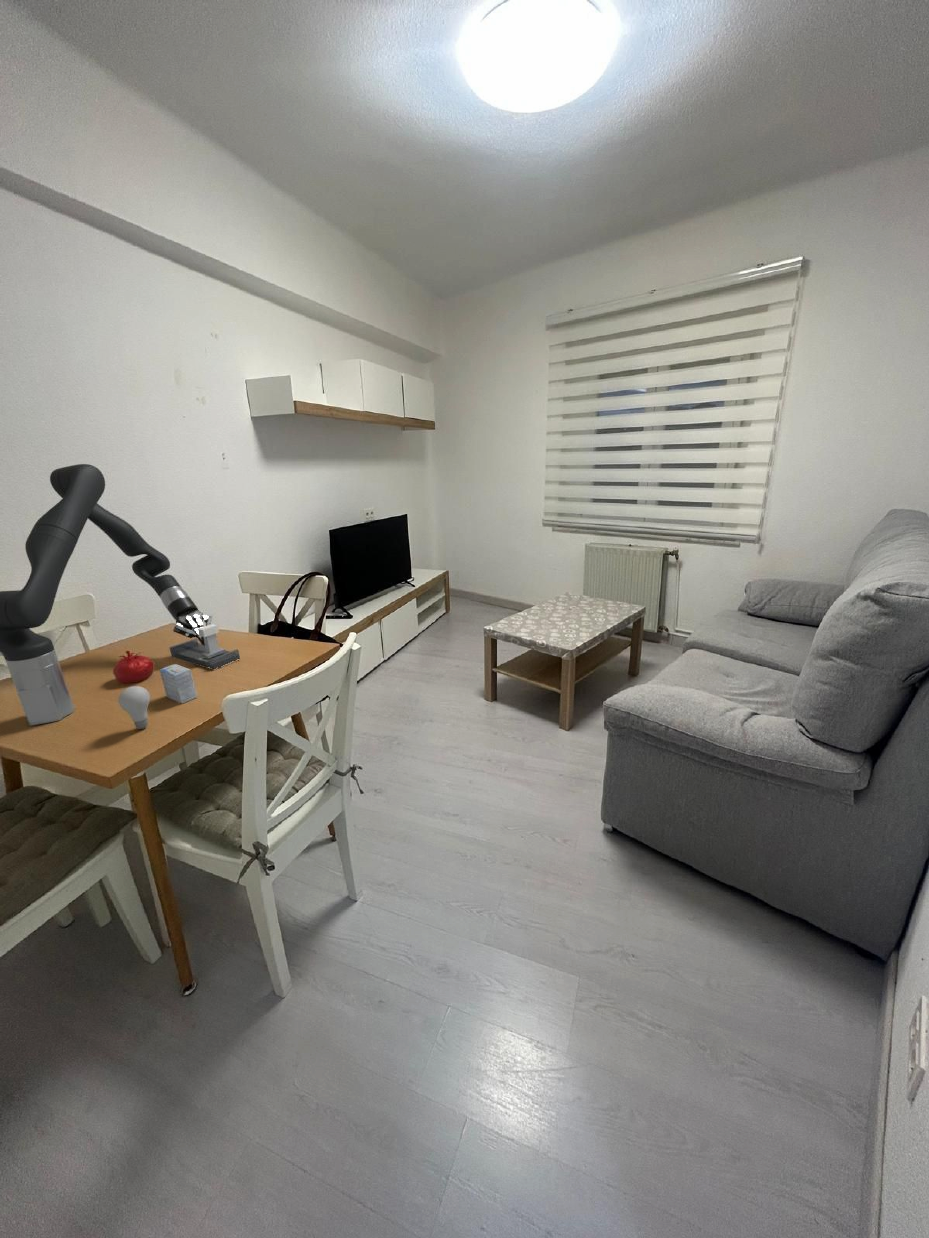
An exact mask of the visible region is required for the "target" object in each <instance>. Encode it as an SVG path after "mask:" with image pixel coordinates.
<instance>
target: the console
mask: <svg viewBox="0 0 929 1238" xmlns="http://www.w3.org/2000/svg"><path fill="white" fill-rule="evenodd" d="M168 649H169V651H170V655H171V658H174V657H175V658H174V659H178V660H180V661H185V662H188V663H190V662H191V664H193V663H194V664H193V665H196V664H198V665H197V666H200V665H201V666H200V667H203V666H204V667H203V668H206V667H210V668H212V669H216V668H217V667H221V666H223V665H225V664H228V663H230V662H232V661H236V660H237V659H240V660H241V657H240V651H239V649H238V648H237V649H234V650H231V651H229V650H226V652H225V653H222V654H219V655H217V656H214V657H211V658H209V659H208V658H205V657H202V656H201V654H200V653H203V652H206V647H205V646H204V645H202V644H201V643H200V642H199V640H198V638H194V639H191V640H187V641H184V642H180V643H177V644H174V645H172V646H169V647H168ZM236 662H237V661H236ZM223 667H224V666H223ZM221 668H222V667H221ZM212 669H211V670H212ZM216 670H217V669H216Z"/></svg>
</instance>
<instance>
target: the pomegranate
mask: <svg viewBox="0 0 929 1238" xmlns="http://www.w3.org/2000/svg"><path fill="white" fill-rule="evenodd" d="M144 653H145V652H142V654H144ZM125 654H126V655H120V656H118V658H121V659H119V660H118V661H117V662H116V664H115V666H114V667H113V669H112V672H113V673H112V674H113V675H114V678H115V679H116V681H117V682H119V683H120V684H132V683H138V682H142V681H144V680H146V679H148V678H150V677H151V676H152V674H153V672H154V667H155V665H154V661H153V660H151V659H150V658H148V657H147V656H145V655H140V652H138V653H136V654H135V652H131V651H130V650H126V651H125ZM133 654H135V655H133Z"/></svg>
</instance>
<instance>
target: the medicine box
mask: <svg viewBox="0 0 929 1238" xmlns="http://www.w3.org/2000/svg"><path fill="white" fill-rule="evenodd" d="M159 673H160V677H161V681H162V684H163V688H164V692H165V695H166V698H168V699H170V700H173V701H176V702H177V703H180V704H186V703H188V702H191V701H193V700H194V699H197V698H198V694H197V689H196V686H195V683H194V678H193V675H192V670H191V669H190V668H188V667H185V666H181V665H179V664H177V663H175V664H170V665H168V666H165V667H163V668H161V669H159Z"/></svg>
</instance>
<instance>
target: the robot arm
mask: <svg viewBox="0 0 929 1238" xmlns="http://www.w3.org/2000/svg"><path fill="white" fill-rule="evenodd" d="M49 482H50V485H51V486H52V488H53V490H54V491H55V493H57V495H58V496H60V497H61V499H60V500H59V501H58V502H57V503H56V504H55V505H53V506H52V507H51V508H50V509H49V510H48V511H46V512H45V513H44V514H43V515H42V516H41V517H39V519H37V521H36V522H35V524H33V526H32V529H31V531H30V533H29V535H28V537H27V538H26V542H25V552H26V555H27V559H28V561H29V564H30V567H31V571H30V575H29V577H28V579H27V581H26V583H25V585H24V586H23V588H22V589H21V590H19V589H17V590H0V653H1V654H2V656H3V659H4V660H5V663H6V666H7V669H8V671H9V674H10V677H11V679H12V683H13V685H14V688H15V690H16V693H17V696H18V699H19V701H20V703H21V704H20V705H21V706H22V709H23V711H24V714H25V717H26V720H27V723H28V725H29V726H30V727H32V726H36V725H42V724H47V723H52V722H57V721H61V720H62V719H63V718H65V717H67V716H68V715H70V714H72V713H73V712H74V711H75V707H74V703H73V700H72V698H71V694H70V691H69V689H68V685H67V683H66V680H65V677H64V673H63V670H62V668H61V664H60V661H59V659H58V655H57V652H56V650H55V647H54V644H53V641H52V640H51V639H50V638H49V637H47V636H43V635H41V634H38V633H36V632H34V631H33V630H32V629H35V628H38V627H41V626H42V625H44V624H45V623H46V621H48V619H49V617H50V615H51V612H52V609H53V607H54V602H55V599H56V596H57V593H58V588H59V585H60V584H61V580H62V577H63V575H64V573H65V570H66V568H67V564H68V563H69V561H70V558H71V557H72V555H73V552H74V550H75V548H76V546H77V544H78V541H79V538H80V536H81V533H82V532H83V529H84V527H85V525H86V523H87V521H88V520H89V521H90V522H92V523H93V524H94V525H95V526H96V527H98V528H99V530H101V531H102V532H103V533H104V534H105V535H107V537H109V539H110V540H111V541H112V542H113V543H114V544H115V545H116V546H117V547H118V549H120V550H121V552H122V553H123V554H124V555H126V556H127V557H131V558H133V557H138V556H142V555H145V556H142V557H141V558H139V559H137V560H136V561H134V562H133V563H132V566H131V568H132V571H133V574H135V576H137V577H138V578H140V579H141V580H143V582H145V583H147V584H148V585H149V586H150V587H151V588H152V589H153V591H154V592H155V593H156V594H157V596H158V598H160V600H161V601H162V604H163V606H164V607H165V609H166V610H167V611H168V613H169V614H170V615H171V617H172V618H173V619H174V620H175V623H176V624H174V627H173V629H172V631H173V632H174V633H176V634H178V635H181V636H184V637H186V638H189V639H192V638H195V639H197V640H198V642H199V643H200V644H202V645H204V646H205V642H204V638H203V637H202V636H199V634H198V628H201V627H204V626H207V625H211V624H212V622H213V621H212V619H213V615H212V614H208V615H205V614H204V613H203V612H201V611H200V610H199V608H198V606H197V605H196V603H194V601H193V600H192V598H191V597H190V595H189V594H188V593H187V592H186V591H185V590H184V589H183V587H182V586H181V584H180V583H179V582H178V581H177V579H176V578H175V577H174V576H173V575H171V574H163V573H164V572H166V571H167V570H169V569H170V568H171V561H170V559H169V558H168V557H167V556H166V555H165V554H163V553H162V552H161V551H159V550H158V549H156V548H154V547H153V546H151V544H149V543H148V542H147V541H146V540H145V539H144V538H143V536H141V535H140V534H139V532H138V531H137V530H136V529H135V528H134V527H133V526H132V524H130V523H128V521H126V520H125V519H123V518H121V517H120V516H118V515H115V514H114V513H112V512H110V511H109V510H107V508H106V509H105V508H104V507H103V506H101V505H100V504H99V500H100V499H101V497H102V496H103V494H104V492H105V489H106V480H105V476H104V475H103V472H102V471H101V470H100V468H98V467H96V466H95V465H91V464H86V463H80V464H79V463H78V464H74V465H68V466H63V467H60V468H56V469H54V470H53V471H52V472H51V473H50V475H49ZM160 574H163V575H160ZM158 575H159V576H158ZM203 621H204V623H205V625H204V623H203Z"/></svg>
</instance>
